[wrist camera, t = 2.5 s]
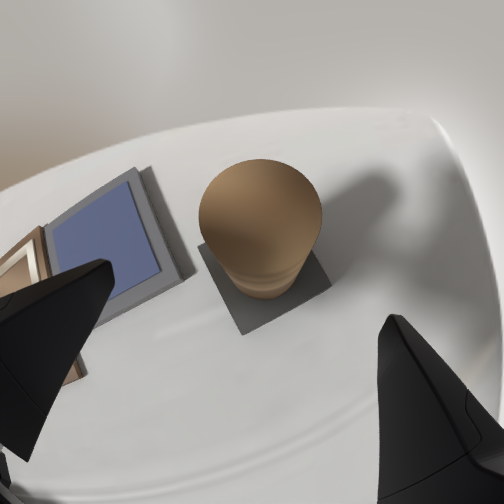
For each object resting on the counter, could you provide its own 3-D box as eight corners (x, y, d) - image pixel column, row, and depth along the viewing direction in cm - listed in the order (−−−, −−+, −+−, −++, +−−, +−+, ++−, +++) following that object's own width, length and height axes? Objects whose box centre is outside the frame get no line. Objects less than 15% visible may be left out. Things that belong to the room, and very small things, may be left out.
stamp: (325, 290, 18) (384, 247, 8) (244, 334, 18) (217, 341, 8) (281, 215, 20) (291, 117, 10) (204, 255, 19) (147, 183, 10)
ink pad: (184, 281, 19) (179, 277, 18) (77, 337, 18) (68, 337, 17) (139, 172, 21) (134, 165, 20) (51, 231, 20) (43, 226, 19)
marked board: (83, 377, 17) (77, 378, 16) (4, 409, 16) (-1, 410, 15) (42, 227, 21) (37, 224, 20) (-25, 288, 20) (-30, 287, 19)
